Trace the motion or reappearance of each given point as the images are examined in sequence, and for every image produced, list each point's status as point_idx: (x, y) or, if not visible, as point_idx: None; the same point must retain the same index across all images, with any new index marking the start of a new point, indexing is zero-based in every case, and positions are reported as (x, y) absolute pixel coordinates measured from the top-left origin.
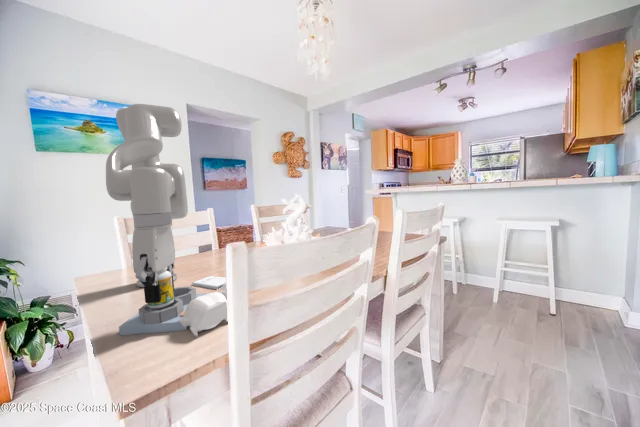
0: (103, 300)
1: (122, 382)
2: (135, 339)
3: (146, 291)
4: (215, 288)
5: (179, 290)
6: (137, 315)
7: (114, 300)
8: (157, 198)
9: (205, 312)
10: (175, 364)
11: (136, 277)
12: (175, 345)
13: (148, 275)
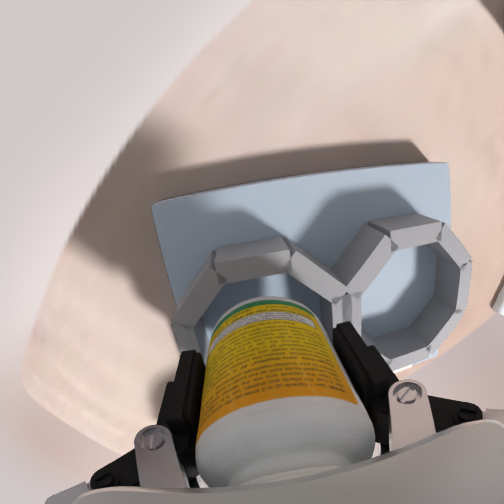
0: None
1: (35, 367)
2: (144, 283)
3: (159, 414)
4: (498, 299)
5: (453, 272)
6: (257, 201)
7: None
8: None
9: (200, 481)
10: (97, 422)
11: (53, 497)
12: (144, 402)
13: (227, 468)
